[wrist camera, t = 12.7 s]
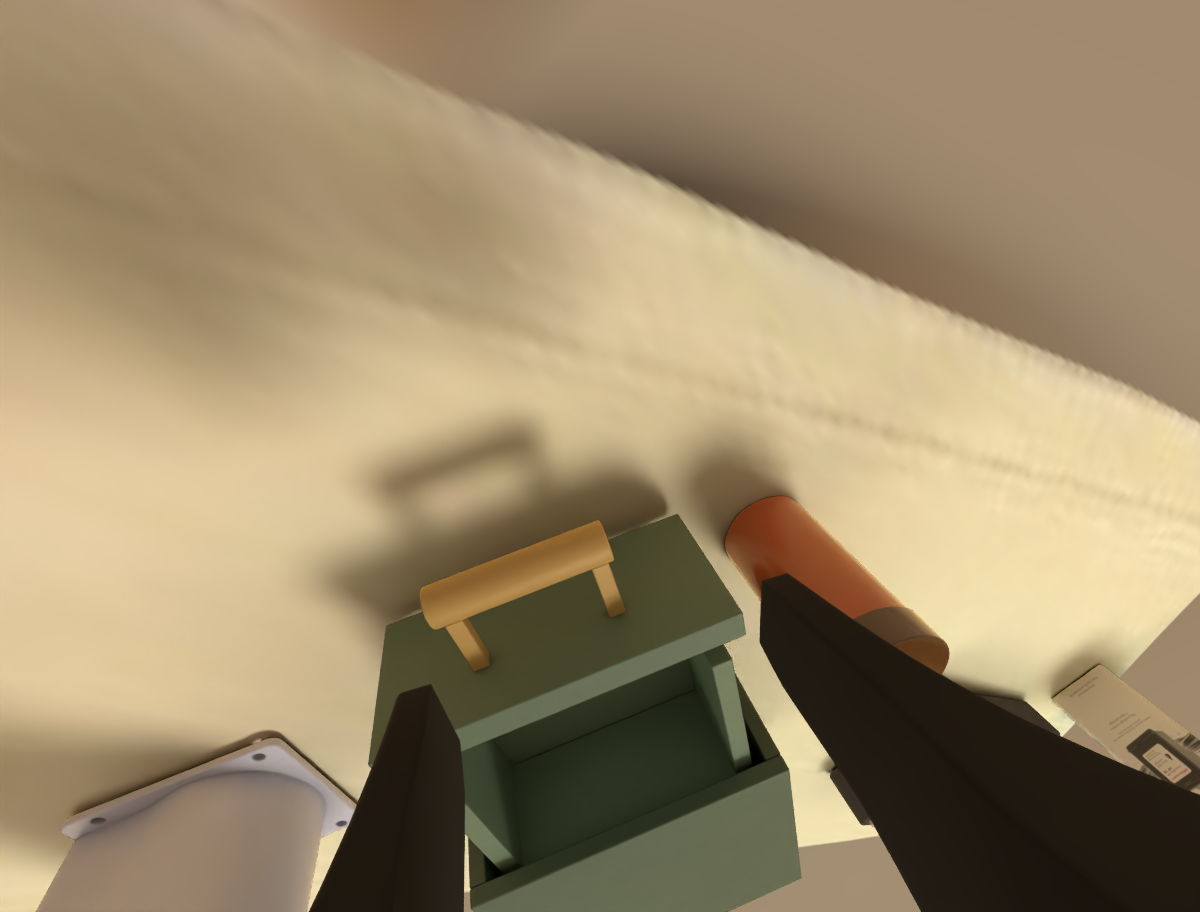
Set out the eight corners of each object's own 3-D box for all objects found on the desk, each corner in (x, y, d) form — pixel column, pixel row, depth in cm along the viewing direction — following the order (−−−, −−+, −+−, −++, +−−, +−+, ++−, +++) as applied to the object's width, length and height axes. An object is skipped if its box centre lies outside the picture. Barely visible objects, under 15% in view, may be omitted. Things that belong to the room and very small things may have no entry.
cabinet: (464, 733, 26) (469, 909, 20) (712, 632, 28) (790, 770, 21) (540, 832, 33) (561, 988, 27) (737, 748, 34) (802, 878, 28)
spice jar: (728, 579, 26) (836, 739, 19) (716, 514, 23) (835, 669, 16) (807, 547, 26) (943, 693, 19) (804, 480, 24) (957, 617, 17)
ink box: (1120, 689, 47) (1365, 881, 34) (1074, 723, 48) (1295, 920, 35) (1100, 661, 42) (1371, 869, 30) (1049, 698, 43) (1290, 913, 31)
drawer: (333, 557, 19) (294, 695, 14) (660, 436, 20) (729, 526, 15) (489, 762, 27) (499, 893, 22) (713, 670, 28) (769, 776, 23)
